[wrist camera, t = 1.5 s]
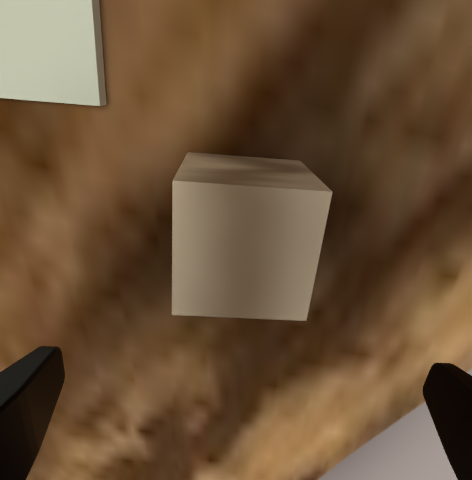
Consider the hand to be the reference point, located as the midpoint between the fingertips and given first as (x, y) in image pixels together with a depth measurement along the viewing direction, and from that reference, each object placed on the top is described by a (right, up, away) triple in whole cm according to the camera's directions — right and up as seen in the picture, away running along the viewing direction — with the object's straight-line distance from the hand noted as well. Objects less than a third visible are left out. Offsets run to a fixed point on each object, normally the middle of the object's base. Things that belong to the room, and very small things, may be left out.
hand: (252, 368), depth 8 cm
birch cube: (0, +5, +11) cm, 12 cm away
